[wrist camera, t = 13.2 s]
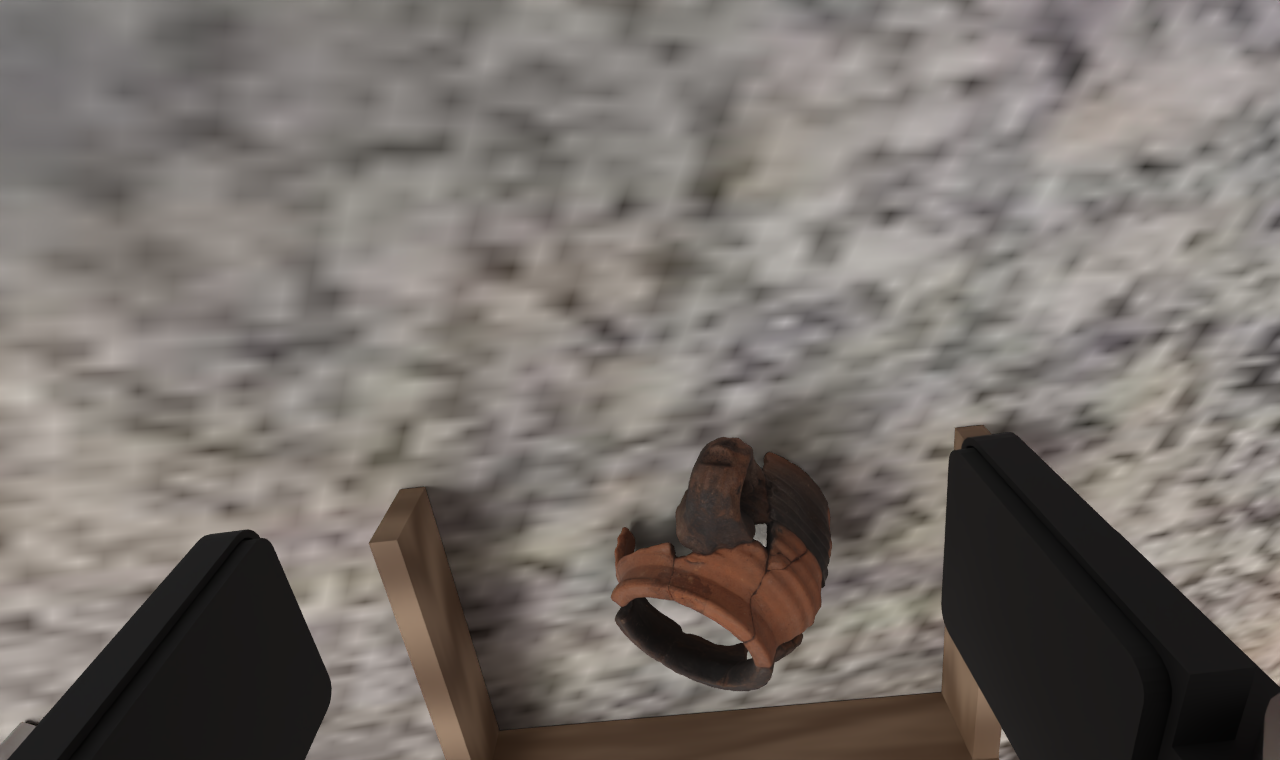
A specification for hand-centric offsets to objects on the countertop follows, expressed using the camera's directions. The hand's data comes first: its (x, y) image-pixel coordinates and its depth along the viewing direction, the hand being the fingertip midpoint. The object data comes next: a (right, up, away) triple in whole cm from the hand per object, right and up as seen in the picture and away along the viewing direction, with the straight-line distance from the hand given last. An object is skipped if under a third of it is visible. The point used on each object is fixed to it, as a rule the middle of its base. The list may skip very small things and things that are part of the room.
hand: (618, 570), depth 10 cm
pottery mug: (+4, -3, +24) cm, 24 cm away
